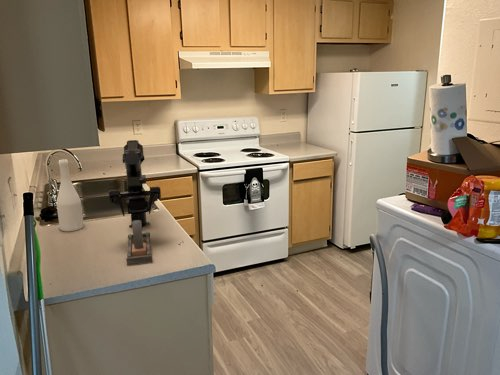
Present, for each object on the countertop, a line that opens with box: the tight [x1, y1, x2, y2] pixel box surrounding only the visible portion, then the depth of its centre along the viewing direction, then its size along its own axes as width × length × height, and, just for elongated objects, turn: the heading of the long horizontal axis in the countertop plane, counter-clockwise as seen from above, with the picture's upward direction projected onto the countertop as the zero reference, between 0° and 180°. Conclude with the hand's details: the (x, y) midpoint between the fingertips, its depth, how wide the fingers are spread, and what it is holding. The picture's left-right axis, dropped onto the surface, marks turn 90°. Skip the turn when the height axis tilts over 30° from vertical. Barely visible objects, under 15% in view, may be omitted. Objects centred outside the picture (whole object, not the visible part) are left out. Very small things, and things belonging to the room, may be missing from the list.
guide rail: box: [125, 232, 153, 266], centre depth 151 cm, size 23×8×3 cm, turn 15°
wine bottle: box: [56, 158, 85, 232], centre depth 172 cm, size 10×10×30 cm
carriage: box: [131, 220, 146, 257], centre depth 146 cm, size 7×5×12 cm
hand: (136, 214), depth 151 cm, fingers open, 9 cm apart
